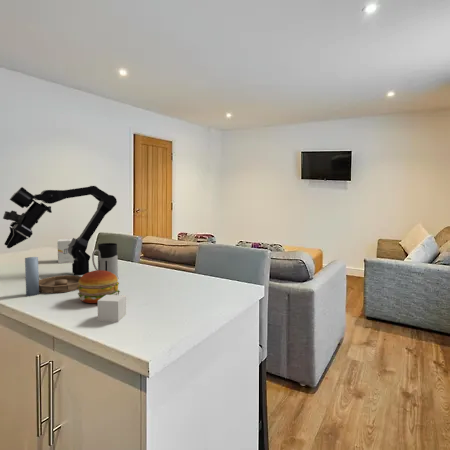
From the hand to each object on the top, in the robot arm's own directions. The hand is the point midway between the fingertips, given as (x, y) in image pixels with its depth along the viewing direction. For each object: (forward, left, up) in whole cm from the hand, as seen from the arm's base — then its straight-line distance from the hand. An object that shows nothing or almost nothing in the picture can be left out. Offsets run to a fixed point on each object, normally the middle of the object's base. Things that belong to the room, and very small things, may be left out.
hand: (6, 246), depth 138 cm
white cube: (-34, +58, -15) cm, 69 cm away
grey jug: (-36, +12, -15) cm, 40 cm away
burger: (-32, +38, -15) cm, 52 cm away
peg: (-11, +23, -14) cm, 29 cm away
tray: (-20, +16, -14) cm, 29 cm away
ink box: (-22, -39, -15) cm, 47 cm away
